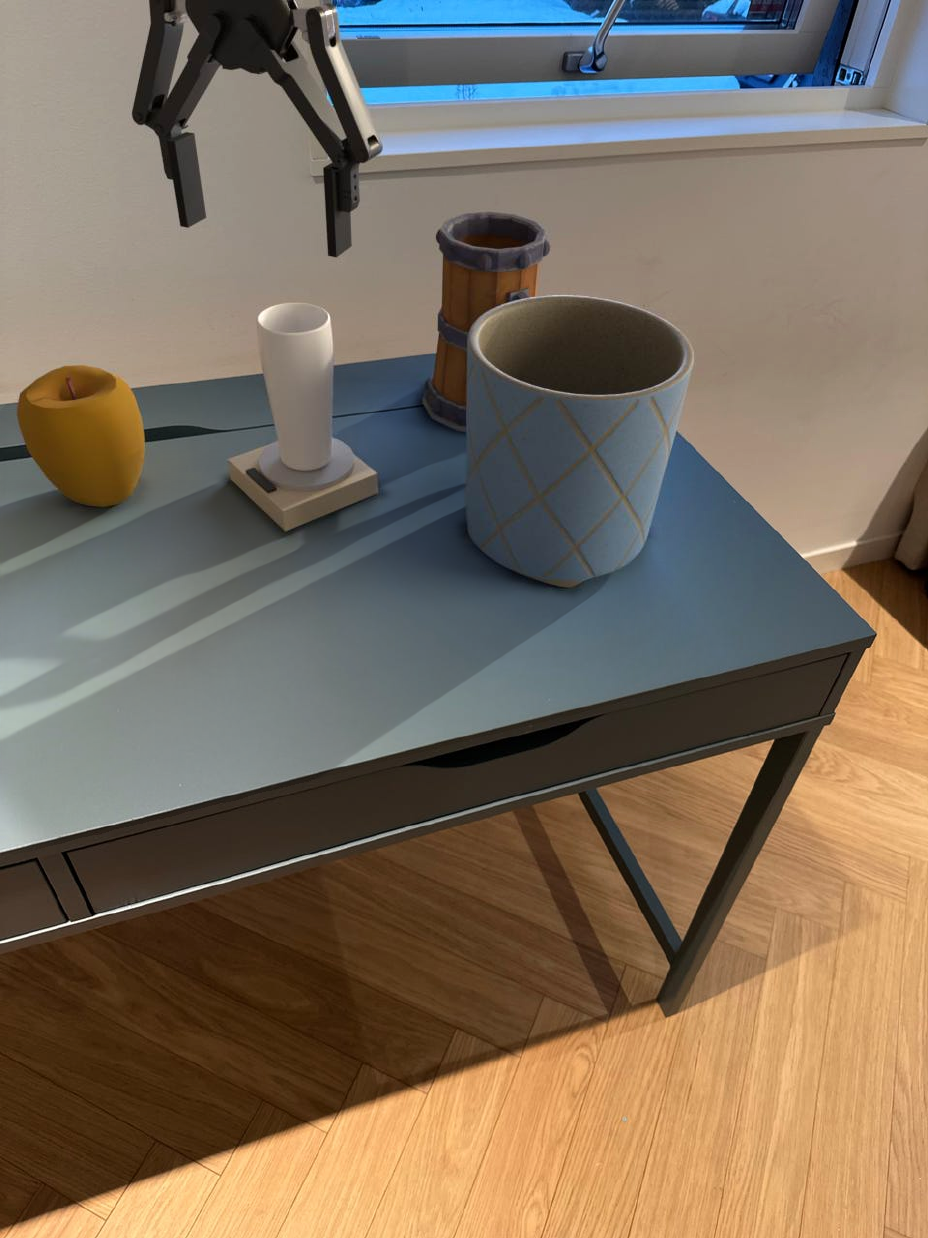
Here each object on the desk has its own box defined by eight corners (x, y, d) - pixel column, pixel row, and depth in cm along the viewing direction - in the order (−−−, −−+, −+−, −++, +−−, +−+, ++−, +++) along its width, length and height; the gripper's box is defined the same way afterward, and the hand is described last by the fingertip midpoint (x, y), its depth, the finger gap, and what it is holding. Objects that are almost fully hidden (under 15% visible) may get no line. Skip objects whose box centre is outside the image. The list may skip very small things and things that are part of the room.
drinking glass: (354, 459, 92) (346, 318, 82) (302, 486, 88) (287, 341, 78) (310, 433, 95) (298, 294, 85) (259, 458, 92) (239, 316, 81)
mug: (595, 432, 104) (623, 257, 90) (493, 469, 97) (506, 287, 84) (496, 362, 115) (508, 197, 101) (399, 391, 109) (397, 219, 95)
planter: (572, 624, 80) (605, 426, 66) (419, 530, 89) (420, 339, 75) (688, 531, 90) (737, 344, 77) (540, 455, 100) (561, 276, 86)
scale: (285, 531, 88) (282, 505, 86) (230, 479, 94) (226, 453, 92) (378, 493, 93) (377, 467, 91) (320, 445, 99) (318, 421, 97)
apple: (42, 472, 94) (4, 356, 85) (150, 454, 97) (123, 341, 88) (47, 534, 86) (6, 415, 78) (164, 513, 89) (136, 396, 81)
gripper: (428, -80, 59) (423, 247, 74) (109, -112, 65) (161, 197, 80) (380, -70, 54) (385, 280, 69) (37, -106, 60) (108, 224, 74)
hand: (265, 236), depth 74 cm, fingers open, 13 cm apart
